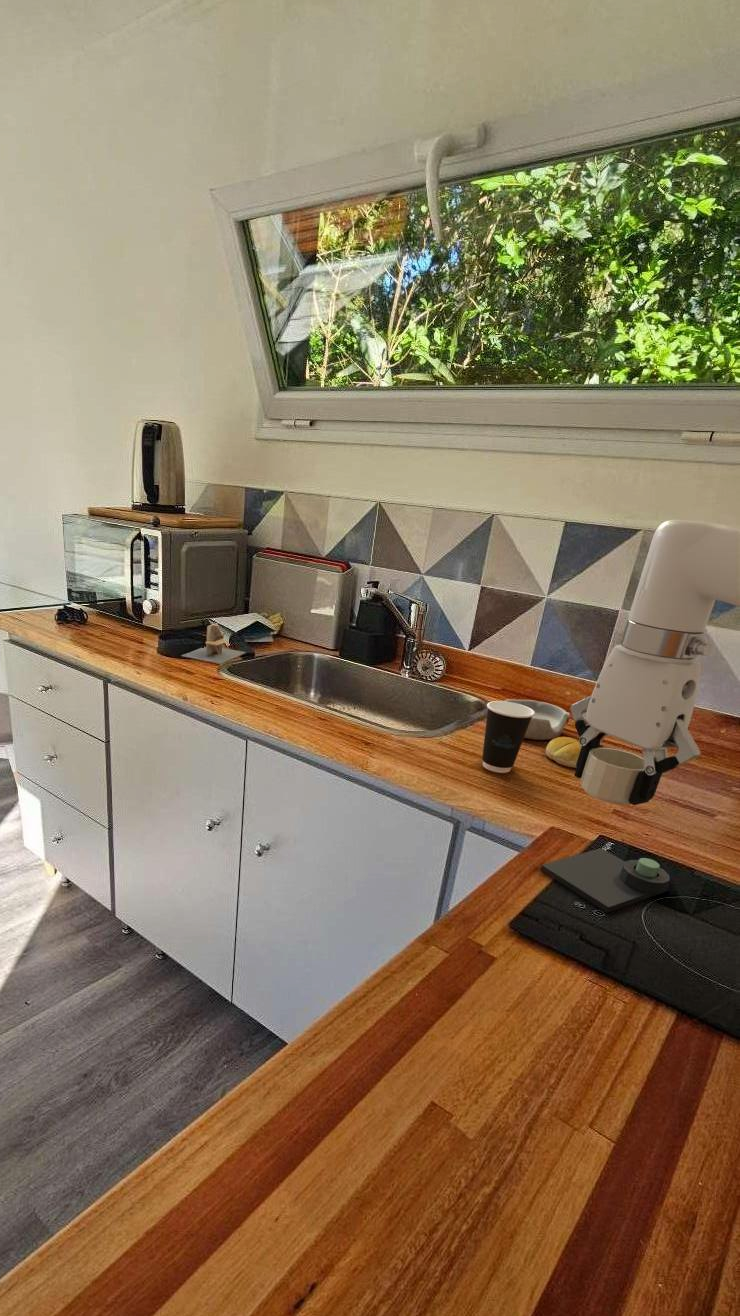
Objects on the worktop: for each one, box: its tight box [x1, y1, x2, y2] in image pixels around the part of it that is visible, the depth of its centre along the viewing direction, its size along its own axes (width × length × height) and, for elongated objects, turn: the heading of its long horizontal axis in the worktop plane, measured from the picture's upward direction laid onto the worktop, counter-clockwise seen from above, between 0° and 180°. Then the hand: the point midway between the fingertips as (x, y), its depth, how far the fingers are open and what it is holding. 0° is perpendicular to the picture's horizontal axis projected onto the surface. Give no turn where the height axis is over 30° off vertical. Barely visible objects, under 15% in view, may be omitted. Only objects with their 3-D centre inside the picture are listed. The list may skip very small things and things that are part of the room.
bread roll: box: [545, 736, 582, 769], centre depth 124 cm, size 8×9×4 cm
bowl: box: [579, 747, 645, 805], centre depth 79 cm, size 7×7×5 cm
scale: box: [539, 847, 671, 914], centre depth 84 cm, size 12×11×2 cm
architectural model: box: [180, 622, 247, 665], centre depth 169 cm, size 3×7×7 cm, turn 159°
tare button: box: [636, 857, 661, 878], centre depth 83 cm, size 2×2×2 cm
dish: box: [504, 699, 571, 741], centre depth 137 cm, size 14×14×5 cm
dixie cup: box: [481, 700, 535, 774], centre depth 115 cm, size 8×8×11 cm
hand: (610, 787), depth 80 cm, fingers closed on bowl, 6 cm apart
